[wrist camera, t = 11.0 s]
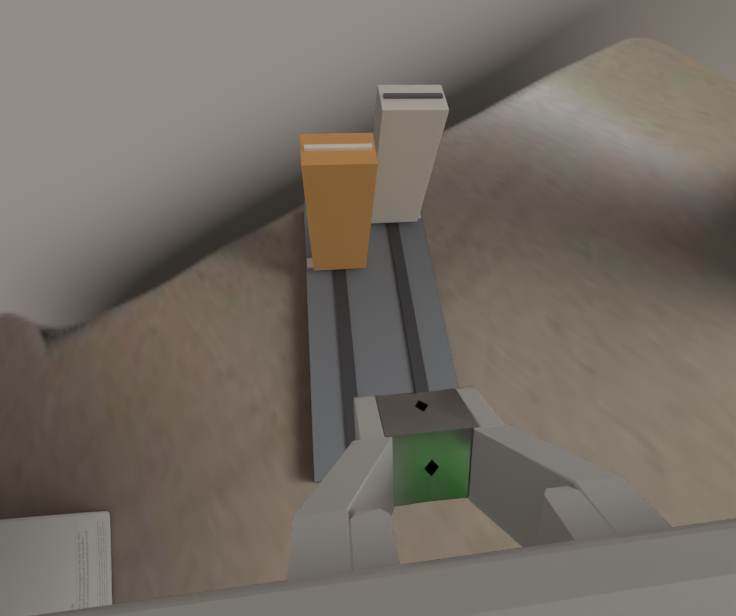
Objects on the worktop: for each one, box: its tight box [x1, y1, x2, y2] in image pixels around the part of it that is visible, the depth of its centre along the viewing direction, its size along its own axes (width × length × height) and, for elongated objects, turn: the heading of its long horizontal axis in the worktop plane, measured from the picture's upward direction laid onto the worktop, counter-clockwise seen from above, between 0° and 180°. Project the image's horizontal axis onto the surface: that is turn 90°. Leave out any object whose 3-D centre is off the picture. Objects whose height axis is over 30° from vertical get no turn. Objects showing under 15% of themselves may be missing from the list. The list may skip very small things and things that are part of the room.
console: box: [304, 201, 459, 483], centre depth 28 cm, size 22×10×1 cm, turn 6°
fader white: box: [371, 85, 449, 223], centre depth 26 cm, size 2×4×10 cm, turn 96°
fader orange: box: [300, 133, 378, 271], centre depth 24 cm, size 2×4×10 cm, turn 96°
